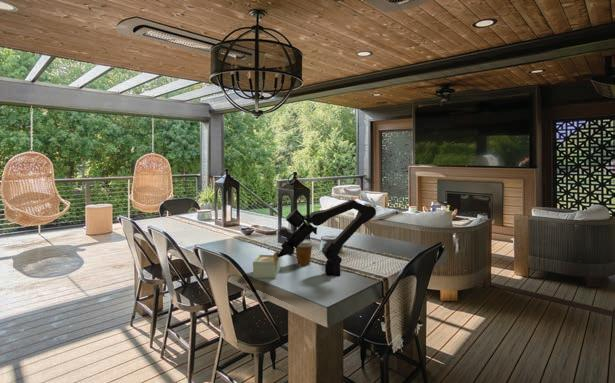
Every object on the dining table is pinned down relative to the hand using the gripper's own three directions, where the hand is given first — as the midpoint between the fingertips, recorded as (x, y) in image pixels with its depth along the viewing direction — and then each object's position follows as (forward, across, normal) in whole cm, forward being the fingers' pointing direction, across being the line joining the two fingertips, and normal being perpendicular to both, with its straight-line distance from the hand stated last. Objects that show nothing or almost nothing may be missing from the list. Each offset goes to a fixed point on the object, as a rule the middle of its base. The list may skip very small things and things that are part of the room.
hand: (278, 256), depth 174 cm
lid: (+5, 0, -2) cm, 5 cm away
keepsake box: (+10, 0, +2) cm, 10 cm away
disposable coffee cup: (-1, -18, +13) cm, 22 cm away
